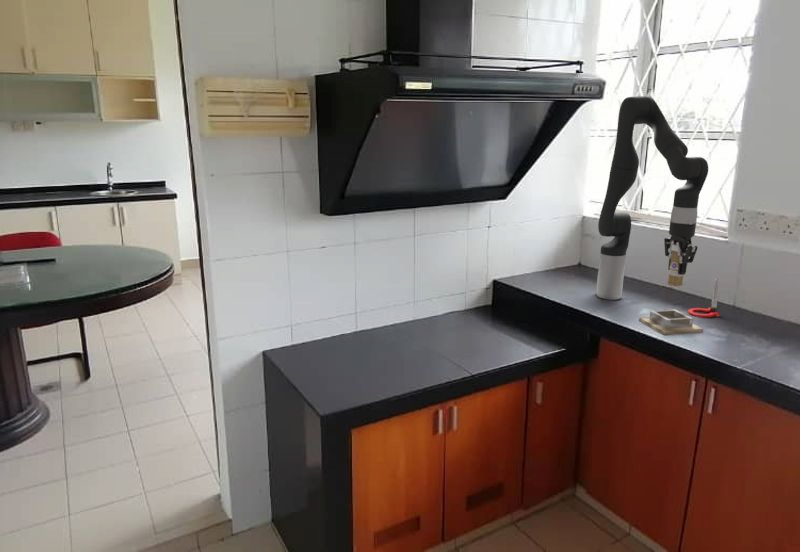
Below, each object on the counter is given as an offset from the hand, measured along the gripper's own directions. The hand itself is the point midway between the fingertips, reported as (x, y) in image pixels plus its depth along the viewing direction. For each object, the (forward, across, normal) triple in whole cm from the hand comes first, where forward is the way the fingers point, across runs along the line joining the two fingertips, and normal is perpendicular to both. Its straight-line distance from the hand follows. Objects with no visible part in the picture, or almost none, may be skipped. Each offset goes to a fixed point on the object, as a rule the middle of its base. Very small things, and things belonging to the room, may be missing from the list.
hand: (676, 272), depth 188 cm
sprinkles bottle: (+4, 0, 0) cm, 4 cm away
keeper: (+19, 0, 0) cm, 19 cm away
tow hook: (+19, -9, +19) cm, 28 cm away
